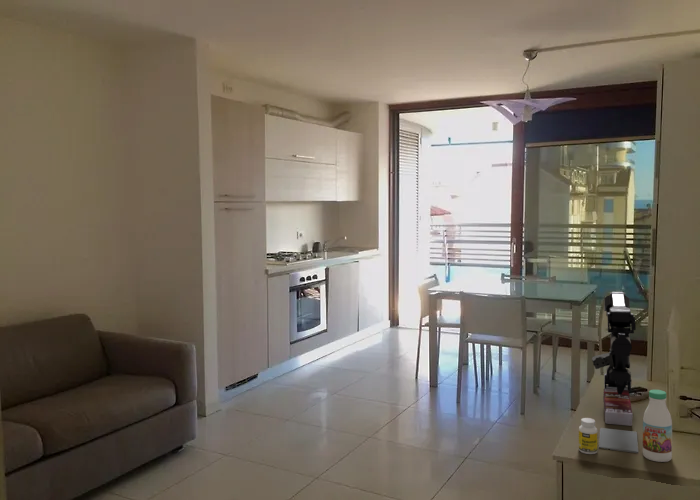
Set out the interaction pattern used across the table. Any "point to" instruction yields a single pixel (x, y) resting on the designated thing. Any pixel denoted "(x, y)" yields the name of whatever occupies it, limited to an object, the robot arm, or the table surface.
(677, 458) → the table surface
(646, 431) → the milk bottle
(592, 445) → the supplement bottle
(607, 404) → the supplement box
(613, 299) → the robot arm
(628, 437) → the mat
